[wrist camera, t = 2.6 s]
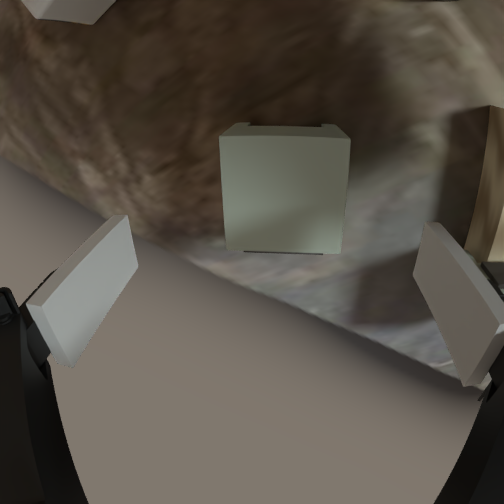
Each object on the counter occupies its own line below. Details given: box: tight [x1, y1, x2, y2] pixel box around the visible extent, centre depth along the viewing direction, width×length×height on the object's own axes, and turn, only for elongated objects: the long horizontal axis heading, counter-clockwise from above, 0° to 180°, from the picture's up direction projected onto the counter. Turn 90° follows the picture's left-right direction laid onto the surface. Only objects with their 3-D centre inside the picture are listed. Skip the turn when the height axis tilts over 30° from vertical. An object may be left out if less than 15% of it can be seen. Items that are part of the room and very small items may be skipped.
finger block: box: [219, 122, 351, 255], centre depth 20 cm, size 7×7×6 cm
